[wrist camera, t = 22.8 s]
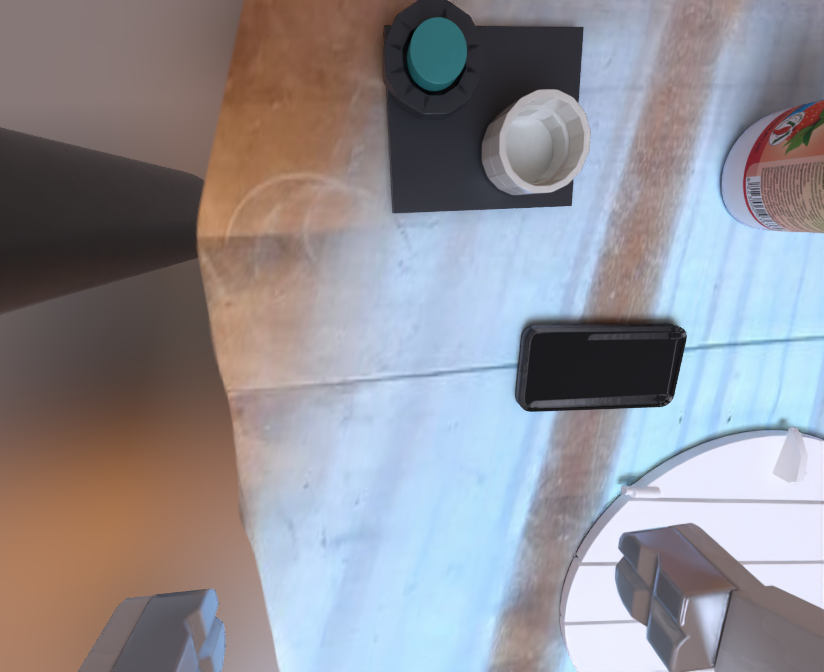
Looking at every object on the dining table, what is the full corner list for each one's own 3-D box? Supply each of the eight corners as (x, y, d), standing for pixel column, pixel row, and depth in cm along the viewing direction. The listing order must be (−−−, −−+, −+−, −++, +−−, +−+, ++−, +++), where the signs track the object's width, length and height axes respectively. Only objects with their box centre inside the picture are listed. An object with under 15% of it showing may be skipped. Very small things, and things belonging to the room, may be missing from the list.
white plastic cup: (479, 196, 32) (498, 194, 27) (479, 107, 30) (500, 89, 26) (555, 193, 32) (586, 191, 28) (560, 105, 31) (594, 88, 26)
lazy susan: (609, 413, 40) (632, 430, 37) (932, 430, 46) (976, 446, 43) (529, 713, 51) (541, 747, 47) (800, 694, 57) (827, 724, 54)
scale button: (407, 91, 28) (411, 83, 26) (405, 28, 27) (408, 16, 25) (460, 91, 28) (467, 83, 27) (460, 28, 27) (467, 16, 26)
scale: (389, 213, 32) (392, 213, 30) (378, 19, 29) (381, -2, 26) (564, 206, 34) (583, 205, 31) (575, 21, 30) (598, 1, 27)
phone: (671, 406, 39) (518, 412, 37) (663, 401, 40) (514, 406, 38) (689, 325, 37) (528, 326, 35) (680, 322, 38) (522, 323, 36)
